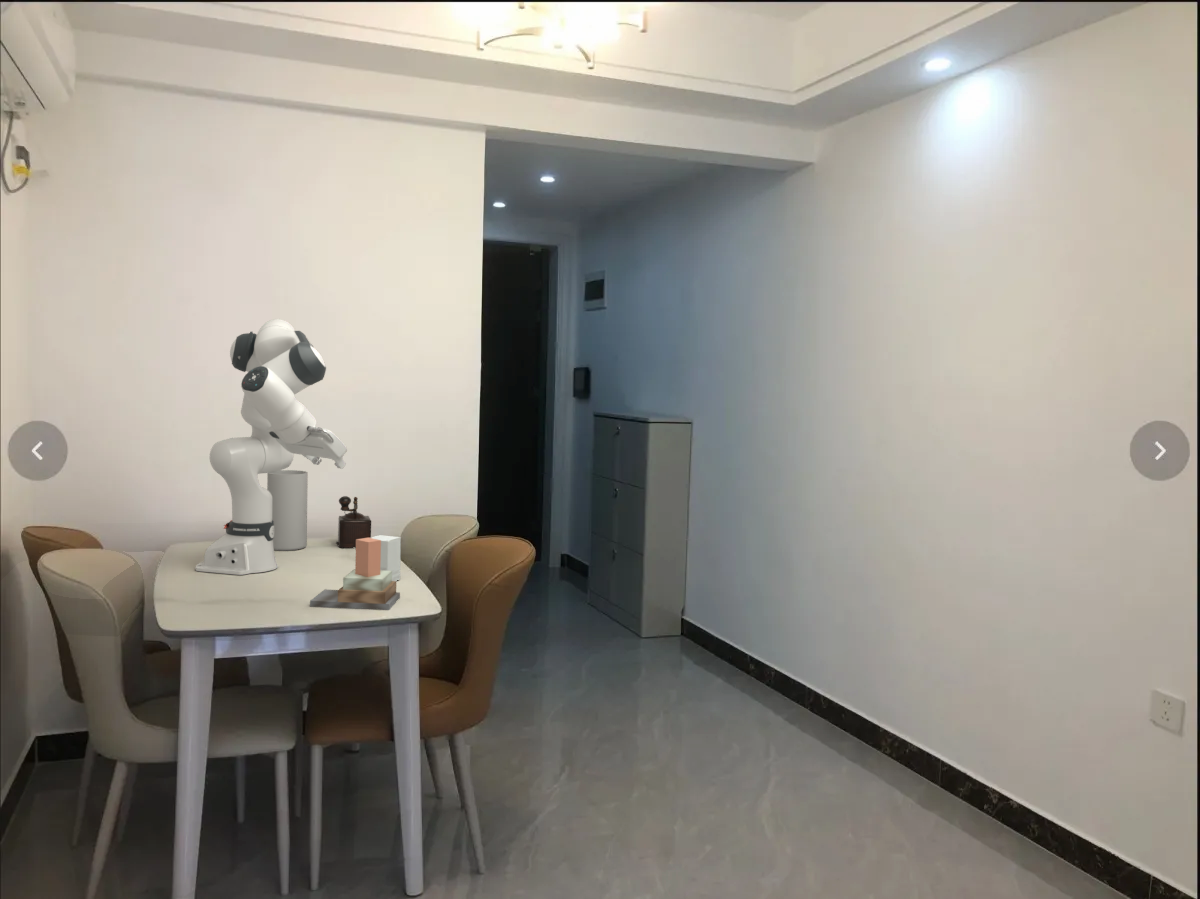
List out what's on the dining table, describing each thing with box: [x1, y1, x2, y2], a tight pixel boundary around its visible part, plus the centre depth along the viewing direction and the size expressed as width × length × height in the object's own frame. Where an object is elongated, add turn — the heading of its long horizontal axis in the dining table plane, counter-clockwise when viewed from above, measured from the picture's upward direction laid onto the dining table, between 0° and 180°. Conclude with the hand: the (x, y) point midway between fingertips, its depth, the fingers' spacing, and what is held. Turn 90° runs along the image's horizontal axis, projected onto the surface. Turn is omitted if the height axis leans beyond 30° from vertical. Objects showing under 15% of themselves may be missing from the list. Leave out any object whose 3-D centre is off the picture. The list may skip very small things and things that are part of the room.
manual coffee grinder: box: [336, 495, 372, 549], centre depth 305 cm, size 16×11×18 cm
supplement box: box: [371, 534, 402, 582], centre depth 258 cm, size 7×7×13 cm
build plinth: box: [309, 569, 401, 611], centre depth 235 cm, size 20×12×8 cm, turn 89°
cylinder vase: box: [266, 469, 309, 552], centre depth 299 cm, size 12×12×25 cm
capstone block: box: [354, 538, 381, 577], centre depth 234 cm, size 4×5×9 cm
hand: (330, 464), depth 222 cm, fingers open, 8 cm apart
